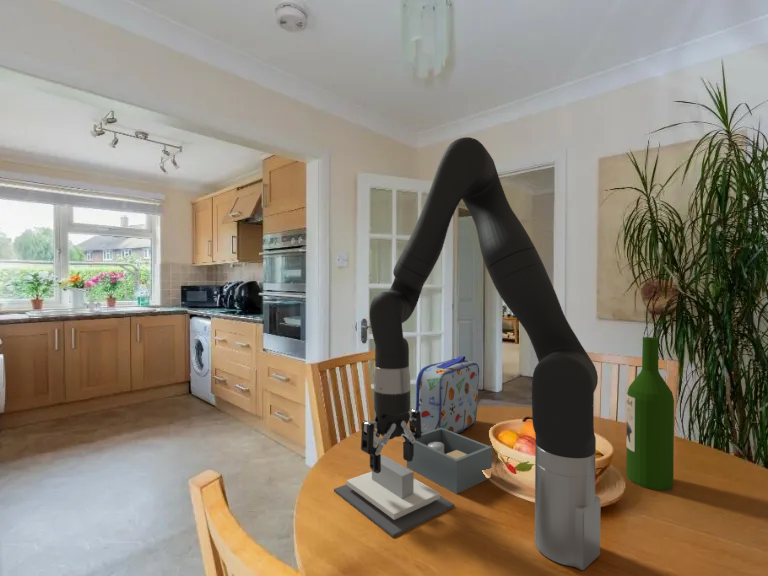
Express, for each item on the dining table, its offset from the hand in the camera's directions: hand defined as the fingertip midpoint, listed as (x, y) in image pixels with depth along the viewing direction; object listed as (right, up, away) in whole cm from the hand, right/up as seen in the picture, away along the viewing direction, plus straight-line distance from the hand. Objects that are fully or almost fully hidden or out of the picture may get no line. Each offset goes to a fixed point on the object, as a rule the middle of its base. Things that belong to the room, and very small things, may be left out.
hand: (392, 465), depth 83 cm
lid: (0, -6, 0) cm, 6 cm away
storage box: (+13, -7, +12) cm, 19 cm away
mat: (0, -7, 0) cm, 7 cm away
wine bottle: (+58, -7, +8) cm, 60 cm away
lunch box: (+18, -7, +40) cm, 45 cm away
